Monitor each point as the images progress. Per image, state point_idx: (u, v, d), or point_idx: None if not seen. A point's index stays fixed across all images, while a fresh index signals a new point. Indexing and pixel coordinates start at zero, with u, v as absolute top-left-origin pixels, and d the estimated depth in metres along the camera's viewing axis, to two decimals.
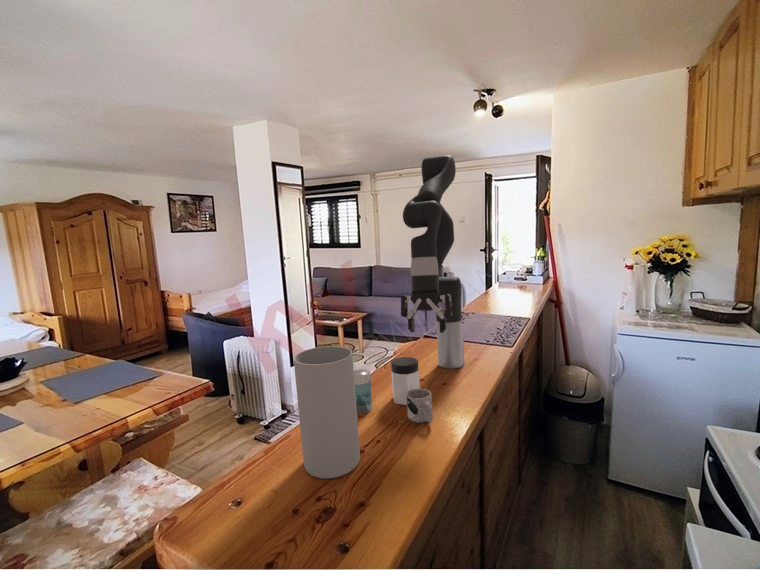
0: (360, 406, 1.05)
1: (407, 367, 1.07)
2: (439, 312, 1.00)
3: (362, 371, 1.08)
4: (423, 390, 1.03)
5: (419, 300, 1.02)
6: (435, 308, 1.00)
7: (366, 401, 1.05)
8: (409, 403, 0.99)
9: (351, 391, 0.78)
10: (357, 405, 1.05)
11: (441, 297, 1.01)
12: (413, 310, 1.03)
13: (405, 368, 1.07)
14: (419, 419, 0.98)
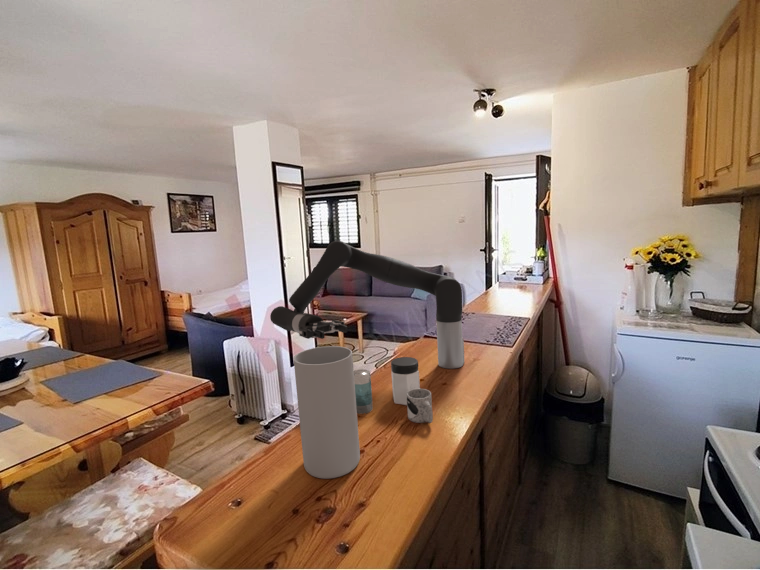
0: (360, 406, 1.05)
1: (407, 367, 1.07)
2: None
3: (363, 371, 1.08)
4: (423, 390, 1.03)
5: None
6: None
7: (366, 401, 1.05)
8: (409, 403, 0.99)
9: (351, 391, 0.78)
10: (357, 405, 1.05)
11: None
12: None
13: (405, 368, 1.07)
14: (419, 419, 0.98)
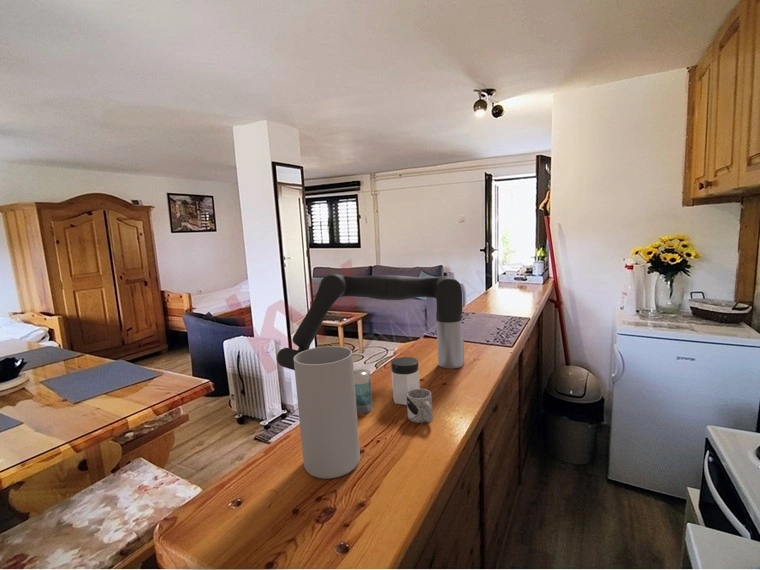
0: (360, 406, 1.05)
1: (407, 367, 1.07)
2: None
3: (362, 371, 1.08)
4: (423, 390, 1.03)
5: None
6: None
7: (366, 401, 1.05)
8: (409, 403, 0.99)
9: (351, 391, 0.78)
10: (357, 405, 1.05)
11: None
12: None
13: (405, 368, 1.07)
14: (419, 419, 0.98)
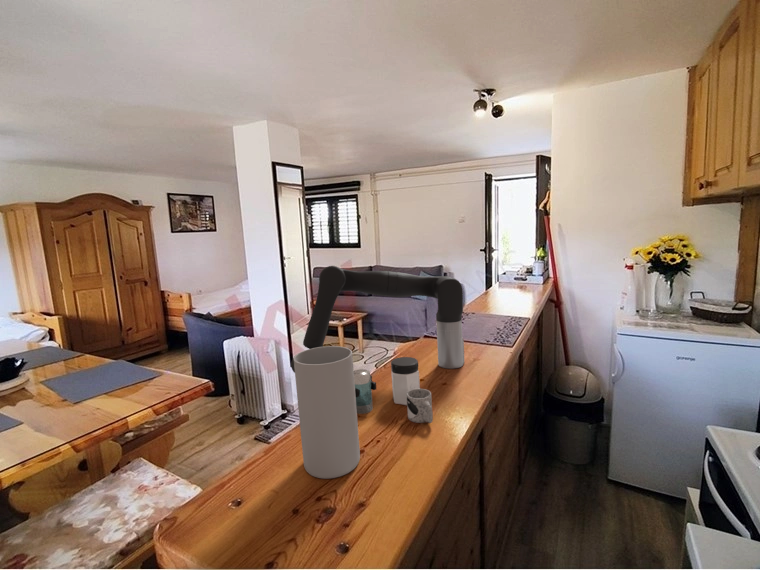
0: (360, 406, 1.05)
1: (407, 367, 1.07)
2: None
3: (362, 371, 1.08)
4: (423, 390, 1.03)
5: None
6: None
7: (366, 401, 1.05)
8: (409, 403, 0.99)
9: (351, 391, 0.78)
10: (357, 405, 1.05)
11: None
12: None
13: (405, 368, 1.07)
14: (419, 419, 0.98)
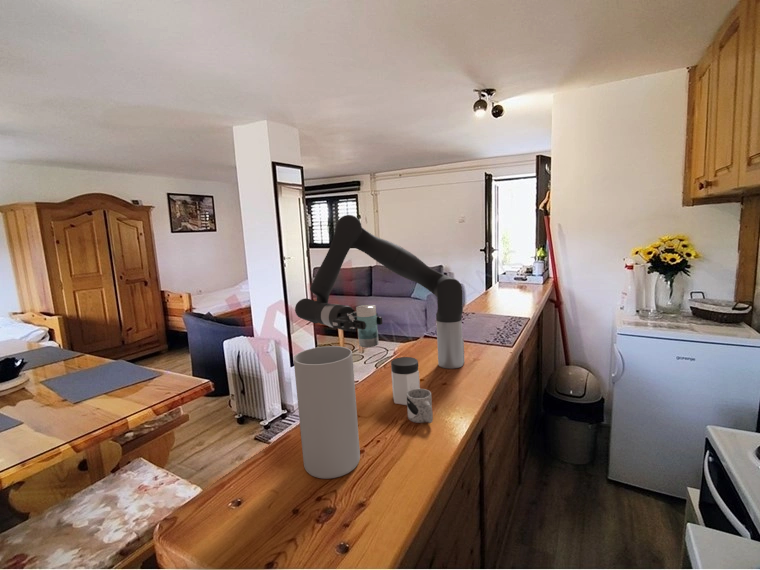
0: (366, 339, 1.03)
1: (407, 367, 1.07)
2: None
3: (368, 305, 1.06)
4: (423, 390, 1.03)
5: None
6: None
7: (372, 334, 1.04)
8: (409, 403, 0.99)
9: (351, 391, 0.78)
10: (363, 338, 1.04)
11: None
12: None
13: (405, 368, 1.07)
14: (419, 419, 0.98)
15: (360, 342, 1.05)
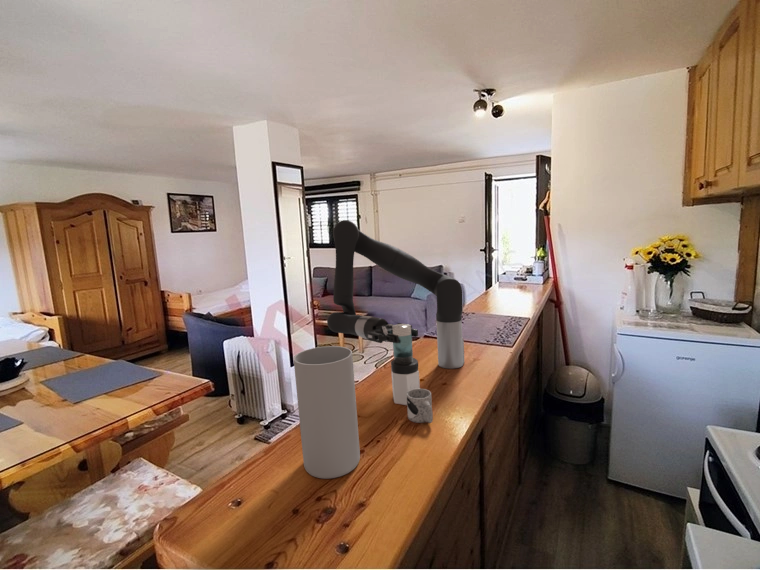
0: (402, 357, 1.08)
1: (407, 367, 1.07)
2: None
3: (403, 325, 1.11)
4: (423, 390, 1.03)
5: None
6: None
7: (407, 353, 1.08)
8: (409, 403, 0.99)
9: (351, 391, 0.78)
10: (399, 357, 1.08)
11: None
12: None
13: (405, 368, 1.07)
14: (419, 419, 0.98)
15: (396, 360, 1.09)
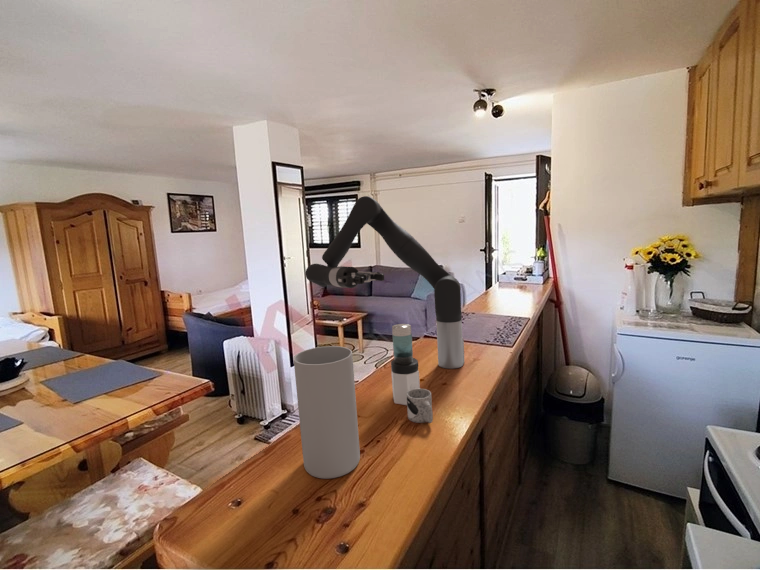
0: (402, 357, 1.08)
1: (407, 367, 1.07)
2: None
3: (403, 325, 1.11)
4: (423, 390, 1.03)
5: None
6: (353, 284, 1.23)
7: (407, 353, 1.08)
8: (409, 403, 0.99)
9: (351, 391, 0.78)
10: (399, 357, 1.08)
11: None
12: (369, 281, 1.27)
13: (405, 368, 1.07)
14: (419, 419, 0.98)
15: (396, 360, 1.09)
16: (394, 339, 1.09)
